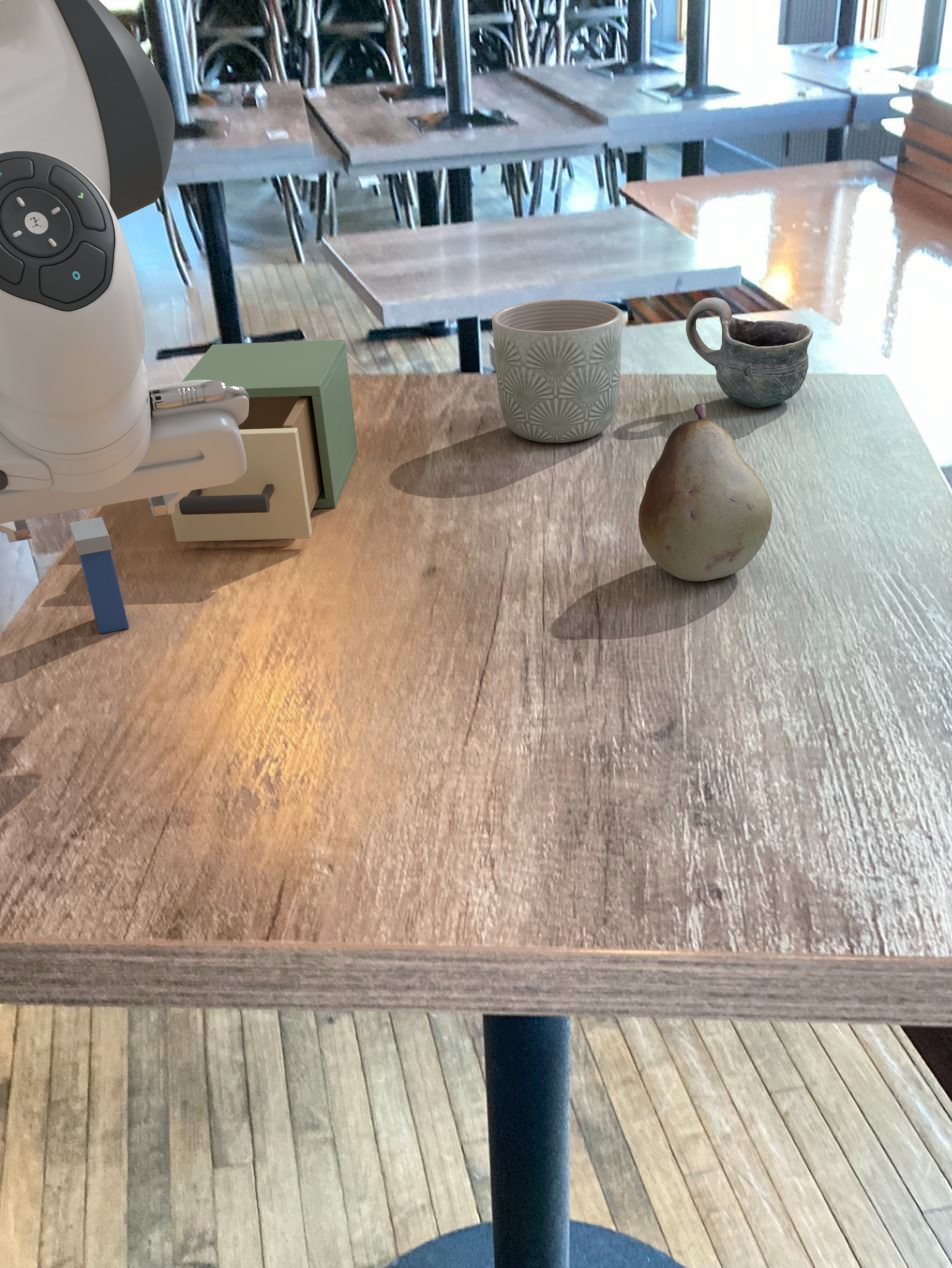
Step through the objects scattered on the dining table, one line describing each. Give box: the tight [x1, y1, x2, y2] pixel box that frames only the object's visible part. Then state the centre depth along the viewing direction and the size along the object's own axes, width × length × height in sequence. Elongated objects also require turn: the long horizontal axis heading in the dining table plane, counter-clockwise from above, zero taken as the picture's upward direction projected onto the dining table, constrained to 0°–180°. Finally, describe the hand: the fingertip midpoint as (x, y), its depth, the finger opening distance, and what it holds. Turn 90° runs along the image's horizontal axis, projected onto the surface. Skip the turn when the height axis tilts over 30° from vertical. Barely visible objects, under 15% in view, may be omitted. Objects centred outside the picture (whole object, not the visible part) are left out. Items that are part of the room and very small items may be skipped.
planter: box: [491, 298, 623, 444], centre depth 129 cm, size 12×12×11 cm
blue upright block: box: [68, 516, 130, 635], centre depth 99 cm, size 2×4×8 cm, turn 21°
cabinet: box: [181, 339, 359, 509], centre depth 121 cm, size 15×13×11 cm
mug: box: [685, 297, 814, 408], centre depth 133 cm, size 10×12×10 cm
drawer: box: [170, 396, 324, 543], centre depth 112 cm, size 18×11×9 cm, turn 177°
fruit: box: [637, 403, 773, 582], centre depth 100 cm, size 10×9×12 cm
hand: (90, 517), depth 88 cm, fingers open, 8 cm apart
